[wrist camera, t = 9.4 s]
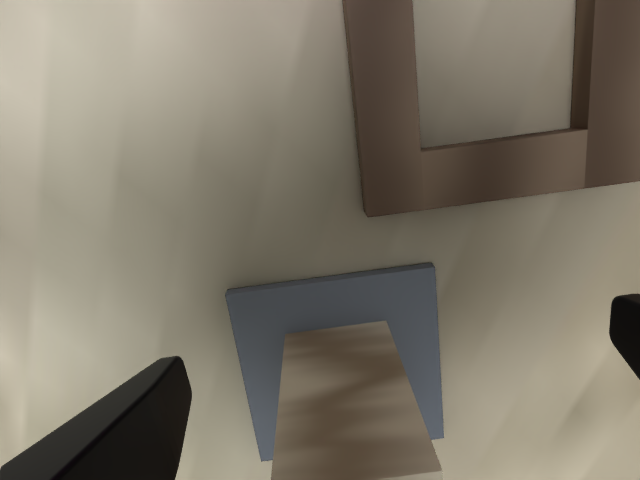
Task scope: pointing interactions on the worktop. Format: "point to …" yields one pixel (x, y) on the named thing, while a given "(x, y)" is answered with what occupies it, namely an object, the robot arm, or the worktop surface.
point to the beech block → (349, 410)
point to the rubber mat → (335, 311)
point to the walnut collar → (500, 153)
